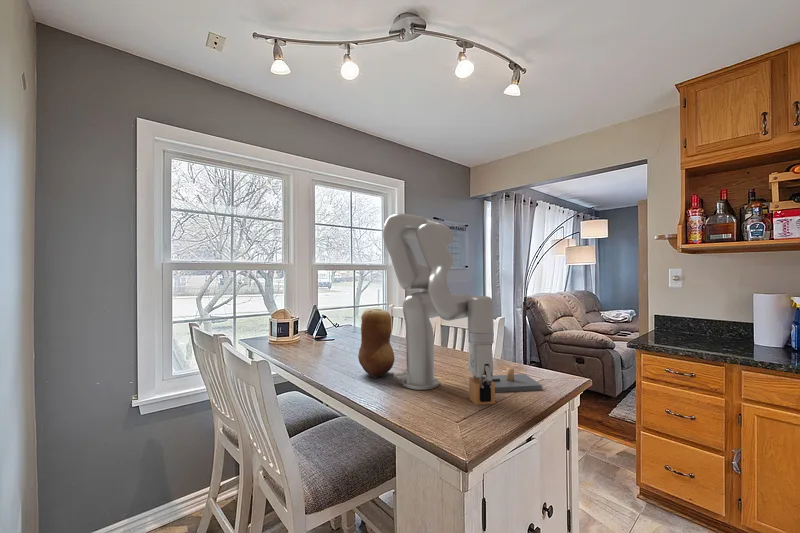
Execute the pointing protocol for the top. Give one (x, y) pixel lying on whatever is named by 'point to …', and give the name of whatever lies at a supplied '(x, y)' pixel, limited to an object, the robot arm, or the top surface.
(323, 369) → the top surface
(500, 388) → the plate
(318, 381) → the top surface
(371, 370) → the butternut squash
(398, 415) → the top surface
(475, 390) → the tan wooden cube
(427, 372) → the robot arm
